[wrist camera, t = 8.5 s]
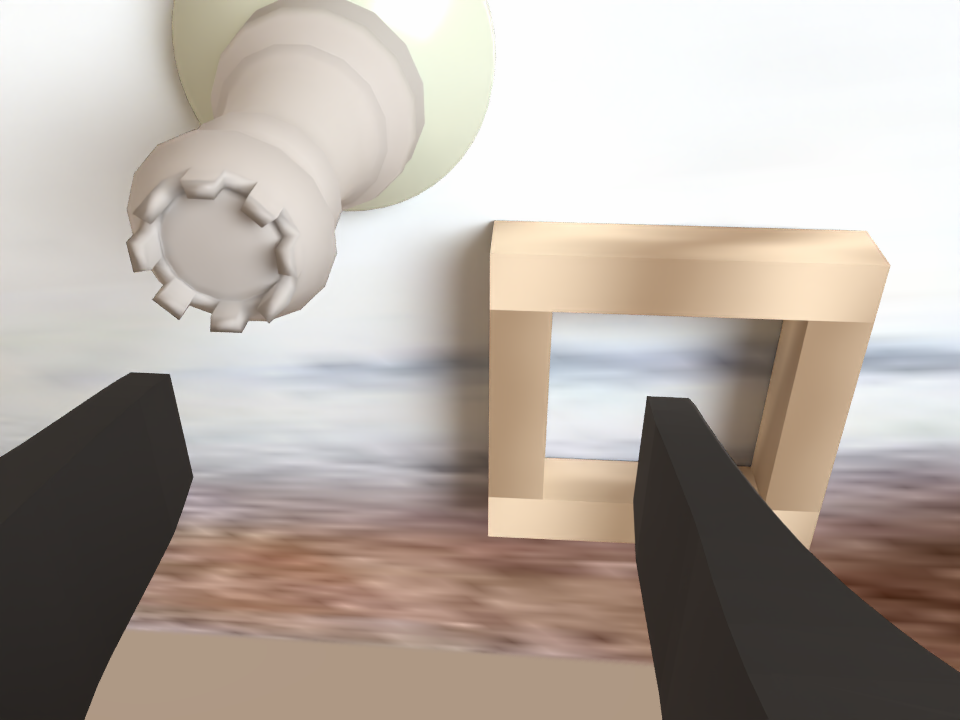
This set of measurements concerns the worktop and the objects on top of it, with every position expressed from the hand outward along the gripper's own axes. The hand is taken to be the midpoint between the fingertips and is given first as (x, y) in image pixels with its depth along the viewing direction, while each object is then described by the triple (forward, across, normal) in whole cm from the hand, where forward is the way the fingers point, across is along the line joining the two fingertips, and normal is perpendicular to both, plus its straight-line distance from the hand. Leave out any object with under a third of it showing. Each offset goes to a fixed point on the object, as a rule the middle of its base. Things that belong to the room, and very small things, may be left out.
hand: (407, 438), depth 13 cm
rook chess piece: (+9, +3, -2) cm, 10 cm away
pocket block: (+10, -5, +5) cm, 12 cm away
